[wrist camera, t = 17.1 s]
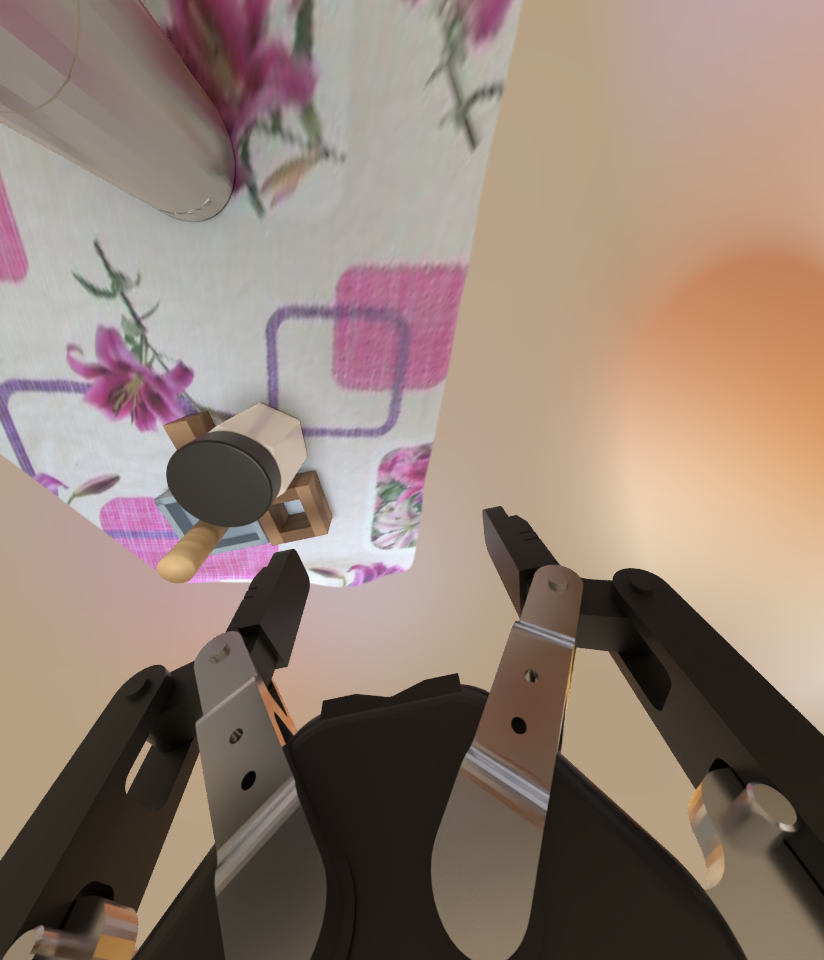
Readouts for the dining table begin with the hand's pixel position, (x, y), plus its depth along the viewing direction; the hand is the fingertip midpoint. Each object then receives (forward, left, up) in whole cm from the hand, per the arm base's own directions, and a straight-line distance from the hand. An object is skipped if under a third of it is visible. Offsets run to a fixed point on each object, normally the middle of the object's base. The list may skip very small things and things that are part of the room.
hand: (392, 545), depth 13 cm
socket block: (+9, -14, -25) cm, 30 cm away
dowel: (+9, -24, -24) cm, 35 cm away
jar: (+1, -14, -25) cm, 29 cm away
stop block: (-1, -21, -25) cm, 32 cm away
